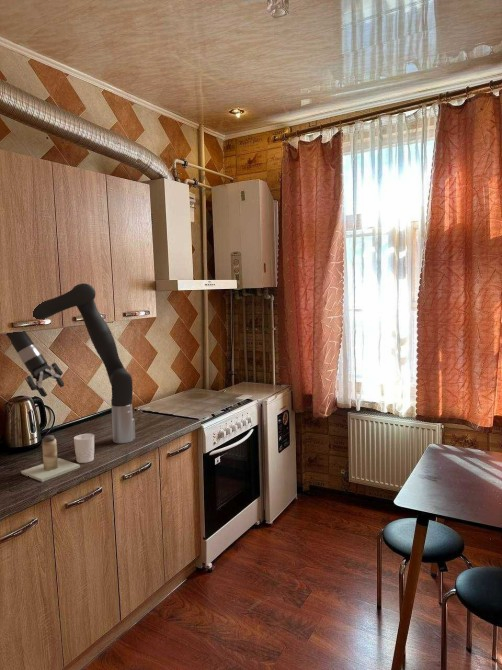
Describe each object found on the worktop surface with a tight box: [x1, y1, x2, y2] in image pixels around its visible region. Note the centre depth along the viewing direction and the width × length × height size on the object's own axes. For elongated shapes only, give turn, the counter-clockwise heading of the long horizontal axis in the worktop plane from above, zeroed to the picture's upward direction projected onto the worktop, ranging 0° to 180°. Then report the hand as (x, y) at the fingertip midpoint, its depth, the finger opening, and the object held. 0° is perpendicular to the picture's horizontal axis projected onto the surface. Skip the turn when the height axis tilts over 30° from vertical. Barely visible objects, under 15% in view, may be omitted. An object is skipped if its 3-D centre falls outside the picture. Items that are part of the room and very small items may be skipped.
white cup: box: [73, 433, 95, 464], centre depth 186 cm, size 8×8×10 cm
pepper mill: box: [41, 434, 58, 471], centre depth 175 cm, size 5×5×12 cm
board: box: [20, 457, 81, 483], centre depth 176 cm, size 16×14×1 cm
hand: (54, 391), depth 186 cm, fingers open, 8 cm apart
